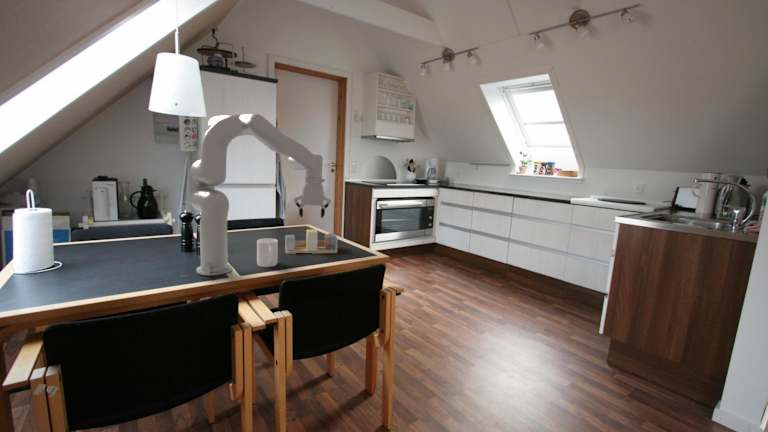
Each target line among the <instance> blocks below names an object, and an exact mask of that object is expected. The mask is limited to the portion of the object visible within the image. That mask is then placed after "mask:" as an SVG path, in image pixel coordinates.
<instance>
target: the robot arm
mask: <svg viewBox="0 0 768 432" xmlns="http://www.w3.org/2000/svg"><path fill="white" fill-rule="evenodd" d="M241 136H252V137H254V138H255V139H257V140H258V141H259V142H260V143H262V144H263V145H264V146H265V147H267V148H268V149H269V150H271V151H273V152H274V153H277V154H279V155H283V156H286V157H288V160H287V162H288V165H289V166H290V167H291V168H292V169H294V170H298V171H299V170H300V171H305V174H304V175H305V176H304V177H305V181H304V182H305V183H303V184H302V189H301V195H299V196H297V197H295V198H293V201H294V203H295V205H296V206H297V207H298V209H299V210H298V215H299V216H300V218H303V213H304V210H303V207H305V206H319V207H321V209H320V218H322V219H323V218H324V216H325V213H326V211H325V210H326V209H327V208H328V207H329V206H330V204H331V202H332V200H330V199H329V198H327V197H325V196H324V185H323V184H322V183H326V180H325V178H323V159H324V158H323V156H322V155H321V154H313V153H312V151H311V150H310V149H308V148H307V147H305V146H304V144H301V143H300V142H298V141H296V140H294V139H292V138H291V137H290V136H287V135H285V134H284V133H283V132H282V131H280V130H279V129H278V128H277V127H276V126H275V125H273V123H271V122H270V121H269V120H268V119H267V118H265V117H264V116H263V115H261V114H259V113H243V114H233V115H230V114H227V115H224V114H223V115H215V116H213V117H211V118H210V119H209V120H208V122H207V130H206V132H205V134H204V137H203V139H202V142H201V150H200V151H201V153H200V159H198V160H196V161H195V162H193V164H192V165H191V167H190V169H189V175H188V176H189V177H188V178H189V179H188V182H189V183H188V185H189V186H188V187H189V188H188V190H189V192H188V194H189V203H190V205H191V207H192V208H193V209H195V210H196V211H199V212H201V214H200V218H199V219H200V220H199V248H200V249H199V250H200V253H199V254H200V266H198V267H196V271H195V272H196V273H197V274H198V275H201V276H220V275H224V274H228V273H230V272H232V270H233V266H232V265H231V264H229V263H228V261H229V260H228V257H229V256H228V254H229V253H228V216H229V215H228V214H229V211H230V210H229V209H230V201H229V198H228V197H227V195H226V194H225V193H224V192H222V191H221V190H218V189H216V187H218V186H221V185H223V184H224V182H225V181H226V178H227V154H228V153H227V152H228V148H229V145H230V143H231V142H232V141H233V140H234V139H236V138H237V137H241ZM299 200H300V201H301V203H299V202H298V201H299ZM324 201H326V203H325V204H324Z"/></svg>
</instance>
